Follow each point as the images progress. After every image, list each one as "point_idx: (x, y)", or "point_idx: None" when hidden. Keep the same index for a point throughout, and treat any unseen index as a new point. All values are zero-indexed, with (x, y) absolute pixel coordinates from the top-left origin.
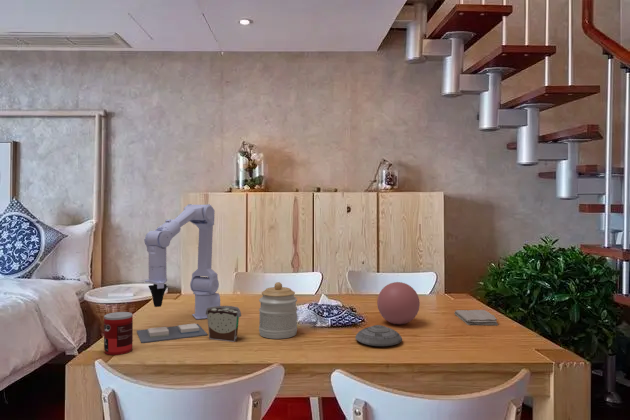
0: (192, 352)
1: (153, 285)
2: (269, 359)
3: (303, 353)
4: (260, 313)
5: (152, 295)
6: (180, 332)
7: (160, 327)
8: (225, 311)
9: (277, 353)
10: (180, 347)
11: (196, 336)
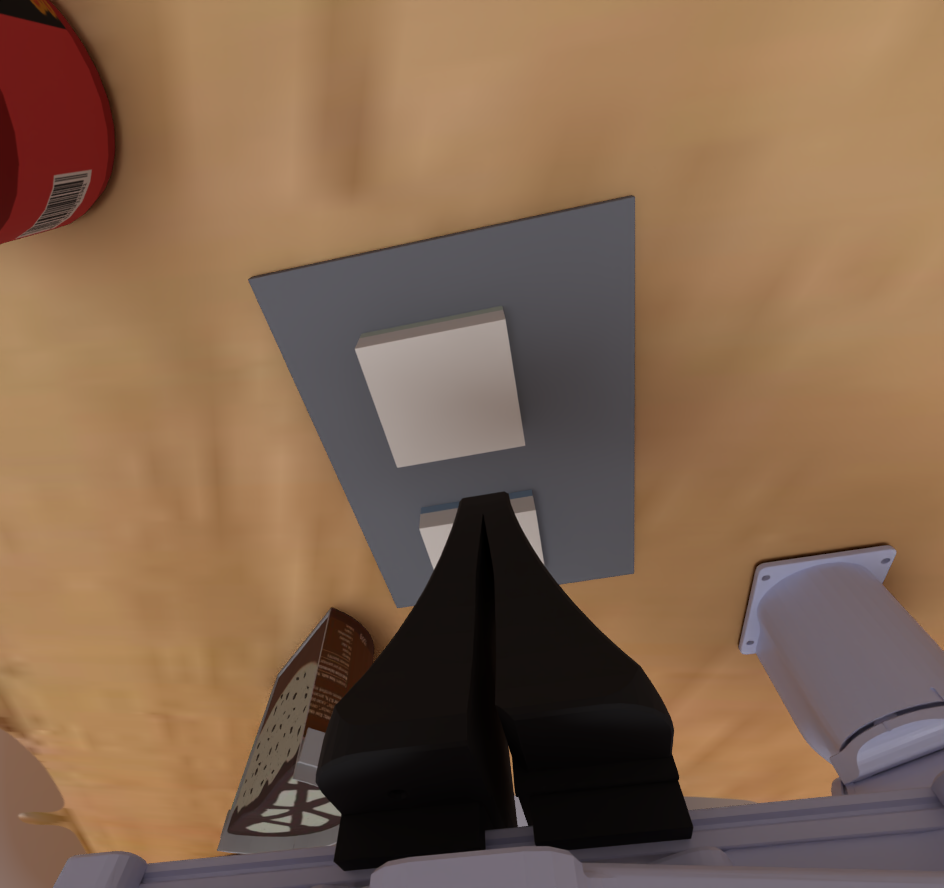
0: (91, 553)
1: (616, 762)
2: (61, 733)
3: (146, 785)
4: (335, 844)
5: (444, 602)
6: (446, 506)
7: (509, 412)
8: (256, 812)
9: (135, 749)
10: (173, 505)
11: (381, 565)
